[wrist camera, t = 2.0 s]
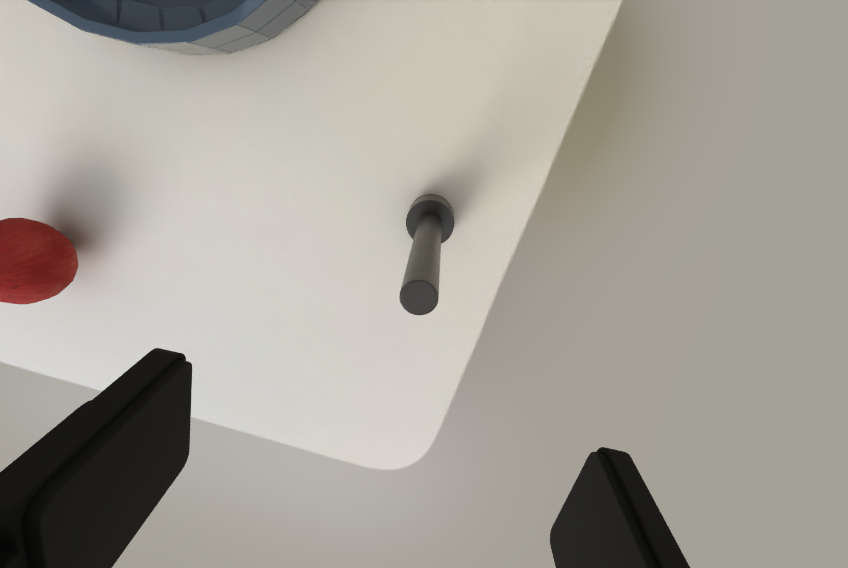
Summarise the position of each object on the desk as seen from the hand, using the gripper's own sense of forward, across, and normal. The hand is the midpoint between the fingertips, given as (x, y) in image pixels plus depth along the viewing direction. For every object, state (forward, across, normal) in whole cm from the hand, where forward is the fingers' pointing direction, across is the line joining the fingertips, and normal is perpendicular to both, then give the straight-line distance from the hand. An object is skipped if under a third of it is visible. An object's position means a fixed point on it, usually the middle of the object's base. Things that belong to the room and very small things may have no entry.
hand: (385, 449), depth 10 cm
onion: (+23, +26, +9) cm, 36 cm away
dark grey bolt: (+22, 0, 0) cm, 22 cm away
